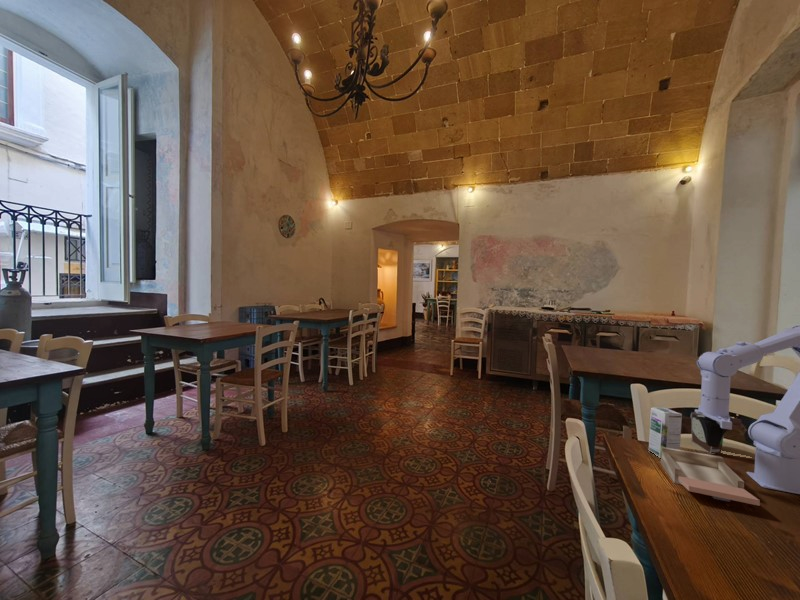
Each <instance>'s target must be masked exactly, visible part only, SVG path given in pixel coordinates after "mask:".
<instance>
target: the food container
mask: <svg viewBox="0 0 800 600" xmlns="http://www.w3.org/2000/svg"><path fill="white" fill-rule="evenodd" d="M698 417H706V416H704V415H702V414H697V413H696V412H695V411H694V412H692V411H691V413H690V419H691V443H693V444H694V445H696V446H697V447H699V448H701V449H702V450H704V451H706V452H707V453H708V452H710V453H716V454H715V455H720V454H722V447H723V442H724V437H725V434H724V435H723V437H722V440H721V442H720V445H719V447H712V446H708V445H707V443H706V440H705V435H704V431H703V428H702V425H701V423H700V421H699V419H698ZM710 453H709V454H710Z"/></svg>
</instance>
